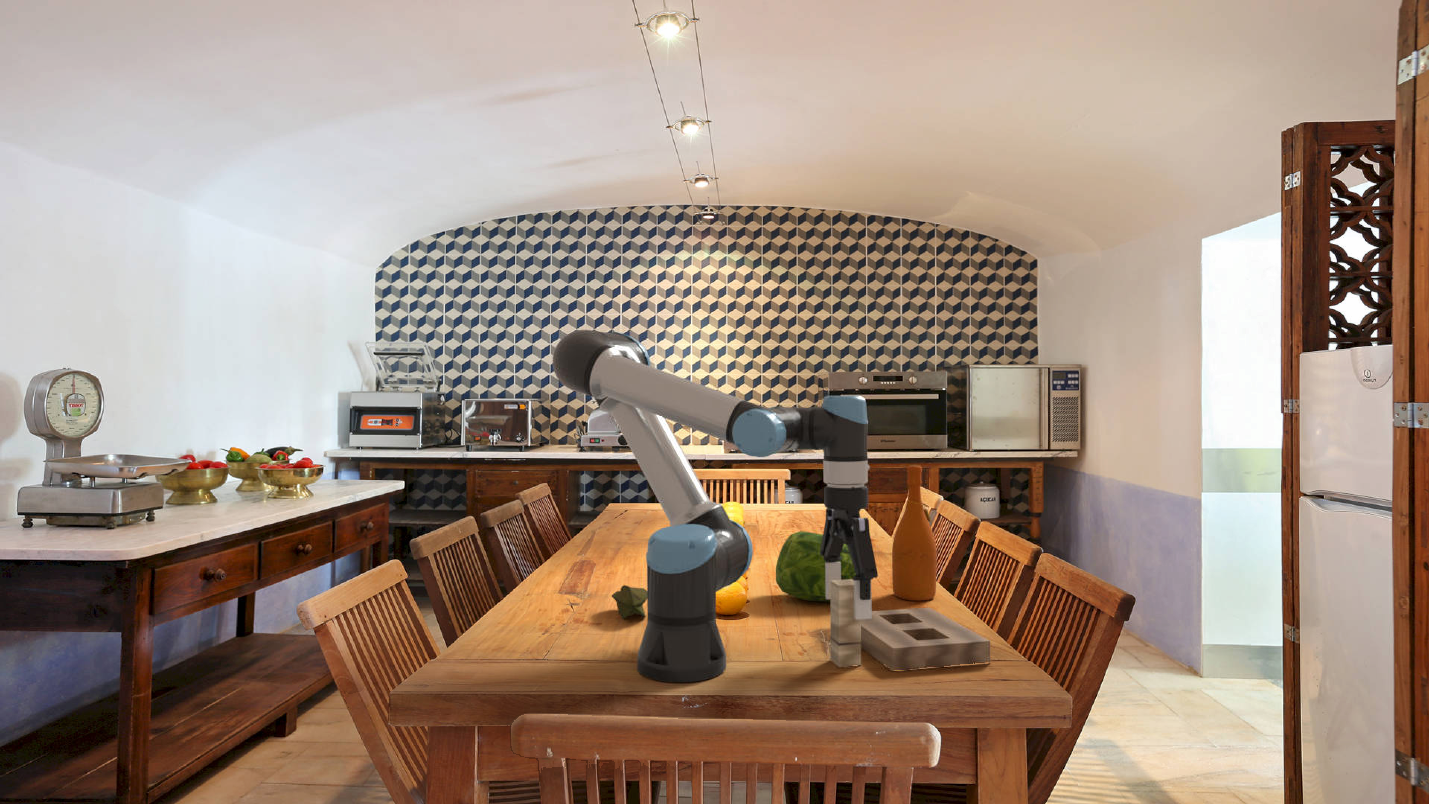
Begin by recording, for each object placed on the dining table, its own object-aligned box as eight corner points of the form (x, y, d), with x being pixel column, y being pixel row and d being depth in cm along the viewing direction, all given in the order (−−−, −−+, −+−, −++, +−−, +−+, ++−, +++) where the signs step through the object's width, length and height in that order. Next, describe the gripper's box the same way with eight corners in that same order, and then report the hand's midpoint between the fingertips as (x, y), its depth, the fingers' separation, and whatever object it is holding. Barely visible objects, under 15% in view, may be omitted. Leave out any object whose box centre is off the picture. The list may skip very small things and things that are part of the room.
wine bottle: (937, 603, 181) (938, 467, 180) (892, 601, 183) (892, 466, 182) (935, 592, 191) (935, 463, 190) (891, 590, 193) (892, 462, 192)
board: (892, 672, 137) (892, 648, 137) (843, 633, 159) (844, 613, 159) (990, 664, 141) (990, 641, 141) (929, 627, 163) (929, 607, 163)
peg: (838, 668, 139) (838, 585, 139) (830, 660, 143) (830, 580, 143) (861, 666, 140) (861, 584, 140) (852, 658, 144) (852, 579, 144)
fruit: (667, 613, 173) (667, 582, 173) (636, 628, 163) (635, 595, 163) (623, 606, 179) (623, 576, 179) (589, 620, 168) (589, 588, 168)
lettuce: (867, 623, 175) (887, 554, 177) (774, 592, 175) (795, 524, 177) (850, 613, 191) (869, 550, 193) (765, 585, 191) (785, 522, 193)
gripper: (897, 492, 130) (899, 626, 130) (840, 477, 154) (841, 589, 154) (853, 494, 128) (854, 629, 129) (801, 478, 153) (803, 592, 153)
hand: (847, 608), depth 141 cm, fingers open, 13 cm apart
